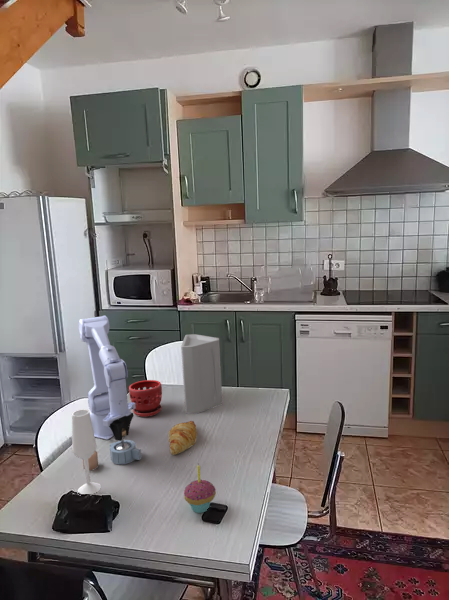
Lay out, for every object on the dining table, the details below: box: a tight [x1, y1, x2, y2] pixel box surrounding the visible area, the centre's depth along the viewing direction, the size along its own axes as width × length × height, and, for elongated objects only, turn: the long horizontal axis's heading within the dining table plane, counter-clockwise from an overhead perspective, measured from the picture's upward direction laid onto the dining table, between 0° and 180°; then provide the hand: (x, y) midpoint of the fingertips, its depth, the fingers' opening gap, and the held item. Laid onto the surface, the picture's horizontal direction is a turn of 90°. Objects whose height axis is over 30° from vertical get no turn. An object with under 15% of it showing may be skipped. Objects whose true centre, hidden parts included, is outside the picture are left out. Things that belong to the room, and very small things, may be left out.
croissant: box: [168, 420, 198, 456], centre depth 154 cm, size 21×10×8 cm, turn 167°
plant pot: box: [128, 379, 163, 418], centre depth 180 cm, size 13×13×12 cm
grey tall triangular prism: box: [180, 333, 223, 415], centre depth 184 cm, size 19×15×28 cm
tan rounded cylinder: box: [82, 450, 99, 471], centre depth 141 cm, size 5×5×4 cm
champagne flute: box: [71, 408, 102, 494], centre depth 127 cm, size 7×7×24 cm
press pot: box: [109, 439, 142, 466], centre depth 145 cm, size 11×8×4 cm
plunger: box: [116, 429, 130, 451], centre depth 145 cm, size 5×5×6 cm
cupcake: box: [183, 462, 217, 514], centre depth 118 cm, size 9×8×12 cm
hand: (122, 437), depth 145 cm, fingers closed on plunger, 3 cm apart
